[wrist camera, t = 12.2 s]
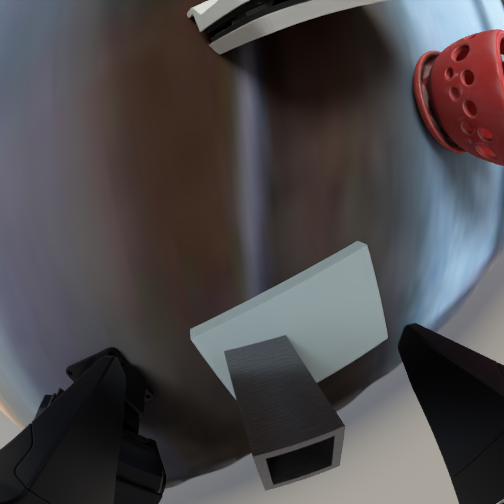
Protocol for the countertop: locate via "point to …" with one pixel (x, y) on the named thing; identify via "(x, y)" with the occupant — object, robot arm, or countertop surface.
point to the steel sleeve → (283, 413)
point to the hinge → (259, 17)
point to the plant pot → (465, 95)
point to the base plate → (305, 317)
